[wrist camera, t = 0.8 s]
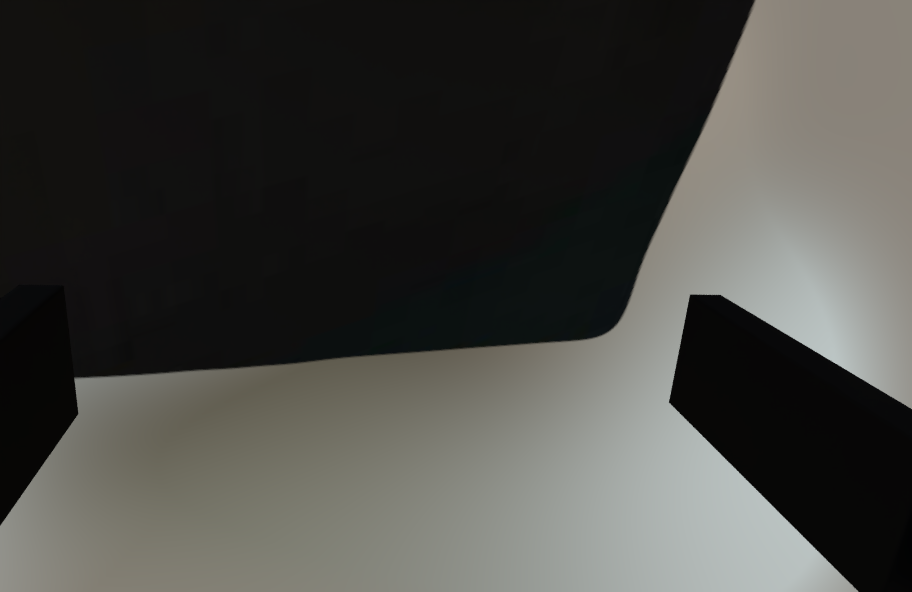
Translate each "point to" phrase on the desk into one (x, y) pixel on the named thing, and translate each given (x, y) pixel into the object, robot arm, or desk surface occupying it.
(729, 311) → the robot arm
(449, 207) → the desk surface
